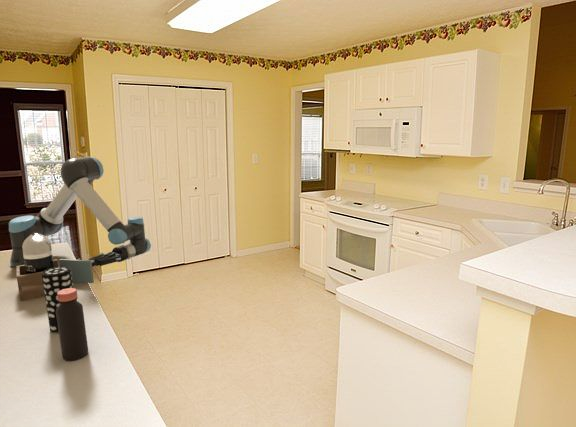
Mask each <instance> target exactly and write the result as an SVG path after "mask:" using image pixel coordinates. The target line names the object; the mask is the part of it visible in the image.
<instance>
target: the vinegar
mask: <svg viewBox="0 0 576 427" xmlns="http://www.w3.org/2000/svg"><path fill="white" fill-rule="evenodd" d="M77 290H78V289H77V288H75V287H73V288H67V289H63V290H60V291H59V292H57V296H58V302H59V303H60V305H59V306H58V307H57V309H56V316H57V323H58V330H59V333H58V337H59V344H60V351H61V357H62V359H63V360H64V361H68V362H74V361H77V360H80V359H83V358H84V357H86V356H87V355H88V352H89V346H88V337H87V330H86V323H85V322H86V321H85V314H84V307H83V304H82V303H81V302H79V301H78V299H79V298H78V291H77Z"/></svg>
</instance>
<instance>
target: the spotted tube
mask: <svg viewBox="0 0 576 427" xmlns="http://www.w3.org/2000/svg"><path fill="white" fill-rule="evenodd" d="M42 280H43V286H44V293H45V296H44V298H45V305H46V312H47V319H48V325H49V327H48V328H49V331H50V332H51V333H53V334H59V330H58V323H57V316H56V309H57V307H58V306H59V305H60V303H59V302H58V296H57V292H59V291H60V290H63V289H67V288H74V282H72V275H71V268H70V267H60V266H58V267H55V268H50V269H47V270H45V271H43V272H42Z"/></svg>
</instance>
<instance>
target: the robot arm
mask: <svg viewBox="0 0 576 427" xmlns="http://www.w3.org/2000/svg"><path fill="white" fill-rule="evenodd" d="M103 175H104V165H103V164H102V162H101V161H100V160H99V159H98V158H96V157H94V156H93V157H92V156H86V157H76V158H69V159H67V160H65V161H64V162H63V163H62V165H61V167H60V177H61V179H62V181H63V185H62V187H61V188H60V189H59V190H58V192H57V193H56V195H55V196H54V198H53V199H52V200H51V202H50V203H49V204H48V205H47V207H43V208H42V209H41V210H40V211H39V213H38V214H36V216H34V215H22V216H17V217H15V218H12V219H11V220H10V221H9V222H8V232H9V237H10V242H11V249H12V251H11V254H10V259H9V263H10V266H11V267H12V268H16V266H20V265H25V260H24V256H23V255H24V254H23V248H22V246H23V243H24V241H25V240H26V239H27V238H28V237H29V236H30V235H31V234H32V233H34V232H38V233H39V234H42V235H44V236H45V237H49V236H54V235H56V234H57V233H59V232H60V231H62V229H63V227H64V216H65V214H66V213H67V211H68V210H69V209H70V208H71V206H72V205H73V203H74V202H75V201H76V200H77V198H79V199H80V200H81V201H82V203H83V204H84V205H85V206H86V208H88V210H89V211H90V212H91V213H92V214H93V215H94V218H96V220H98V222H99V223H100V224H101V225H102V227H103V228H104V229H105V230H106V231H107V232H108V233H107V238H108V241H109V242H110V243H111V244H113V245H116V246H115V247H114V248H112V250H111V251H108V252H107V253H104V252H100V253H99V254H98V255H95V256H93V257H90V258H89V261H91V262H92V268H93V267H98V266H99V267H103V266H106V265H110V264H113V263H117V262H118V263H121V262H124V261H126V260H130V259H132V258H135V257H137V256H140V255H144V254H145V253H148V252H149V251H150V250H151V248H152V244H151V242H150V239H148V238H146V235H145V234H146V232H145V223H144V219H143V217H140V216H133V217H128V218H127V224H124V223H123V222H122V221H121V220H120V219H119V216H117V215H116V213H115V212H114V211H113V210H112V209H111V207H109V206H108V204H107V203H106V202H105V201H104V199H103V198H102V197H101V196H100V194H99V192H97V191H96V190H95V188H94V187H93V186H92V184H93V182H94V181H95V180H99V179H101V178H102V177H103ZM128 241H129V242H128ZM126 242H127V243H126ZM121 244H122V245H121ZM117 245H119V246H117Z"/></svg>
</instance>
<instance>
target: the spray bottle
mask: <svg viewBox="0 0 576 427" xmlns="http://www.w3.org/2000/svg"><path fill="white" fill-rule="evenodd" d="M22 248H23V254H24V255H23V256H24V260H25V267H26V273H27V274H32V273H38V272H43V271H45V270H47V269H50V268H54V263H53V260H54V258H53V257H54V256H53V249H52V243H51V241H50V239H49V238H48V236H46V237H45V236H44V235H42V234H39V233H38V232H34V233H32V234H31V235H30V236H29V237H28V238H27V239H26V240H25V241H24V243H23V246H22Z"/></svg>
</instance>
